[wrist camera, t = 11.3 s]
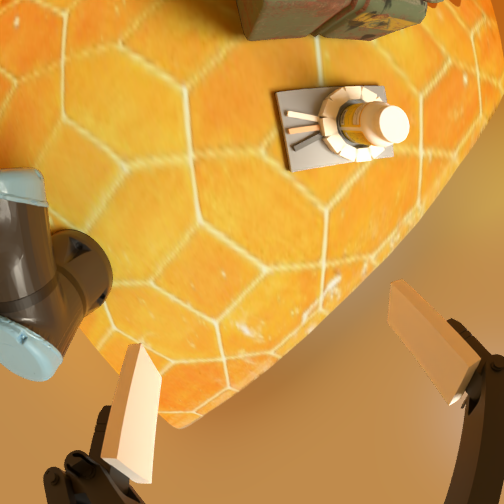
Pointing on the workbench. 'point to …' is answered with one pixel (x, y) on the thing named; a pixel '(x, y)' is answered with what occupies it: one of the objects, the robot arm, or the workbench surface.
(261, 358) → the workbench surface
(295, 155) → the junction plate
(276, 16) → the fuel can
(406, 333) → the robot arm
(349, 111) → the pill bottle
